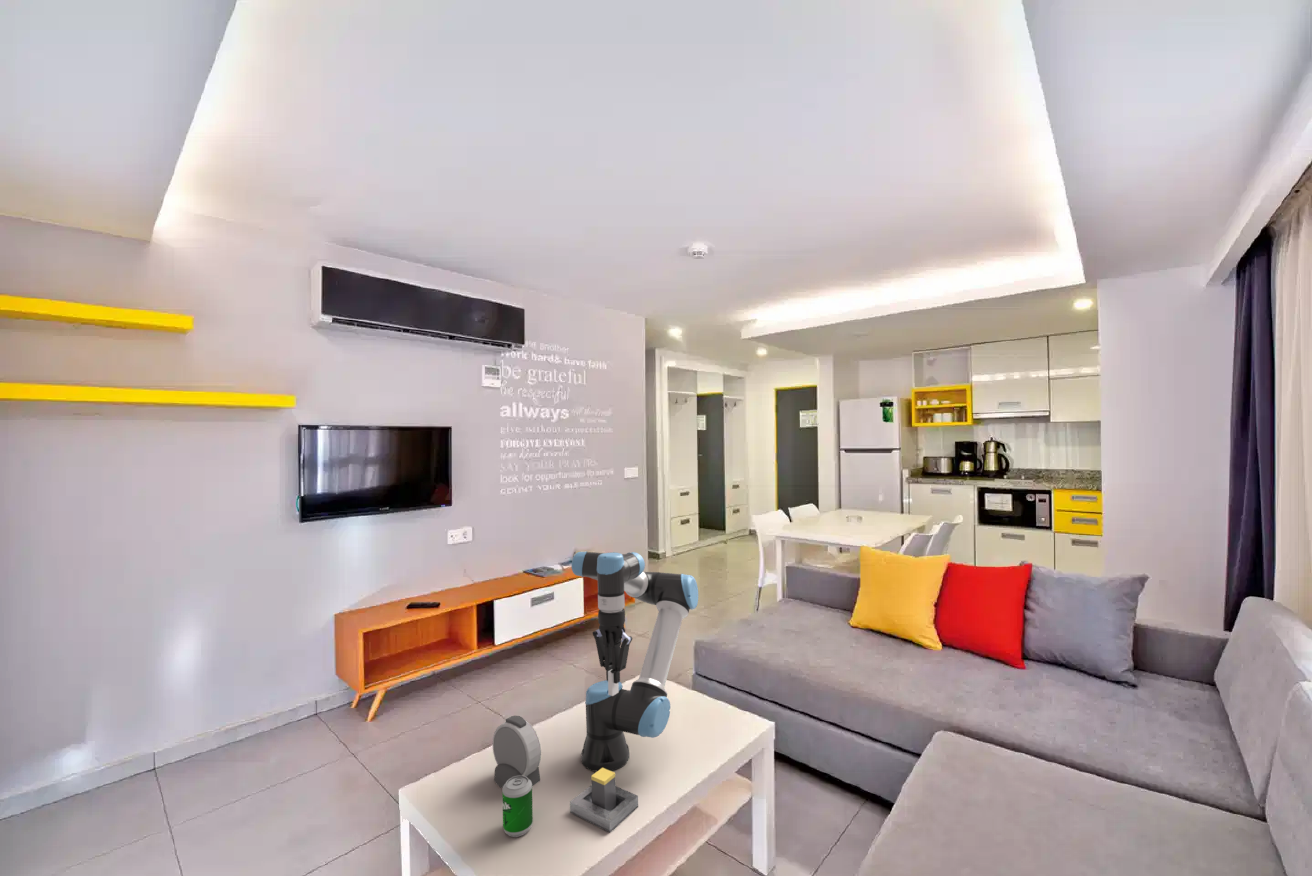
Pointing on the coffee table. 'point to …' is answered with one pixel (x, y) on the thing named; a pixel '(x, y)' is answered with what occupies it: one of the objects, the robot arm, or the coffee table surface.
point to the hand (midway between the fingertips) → (613, 693)
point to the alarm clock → (516, 751)
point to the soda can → (517, 806)
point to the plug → (604, 789)
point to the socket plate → (600, 816)
